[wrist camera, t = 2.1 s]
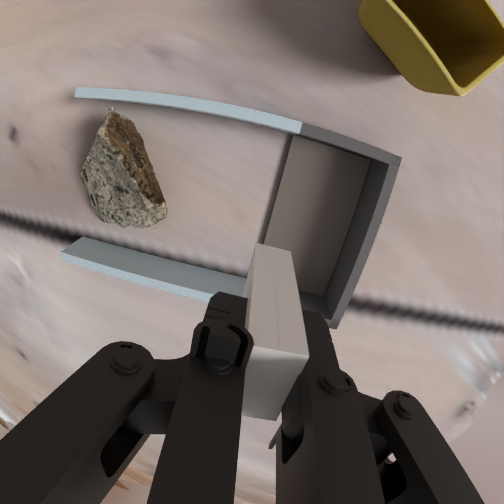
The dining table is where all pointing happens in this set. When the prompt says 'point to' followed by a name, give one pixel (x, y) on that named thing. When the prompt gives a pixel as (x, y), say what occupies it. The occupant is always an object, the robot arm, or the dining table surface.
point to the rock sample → (122, 176)
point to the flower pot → (437, 41)
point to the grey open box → (330, 214)
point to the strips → (149, 266)
